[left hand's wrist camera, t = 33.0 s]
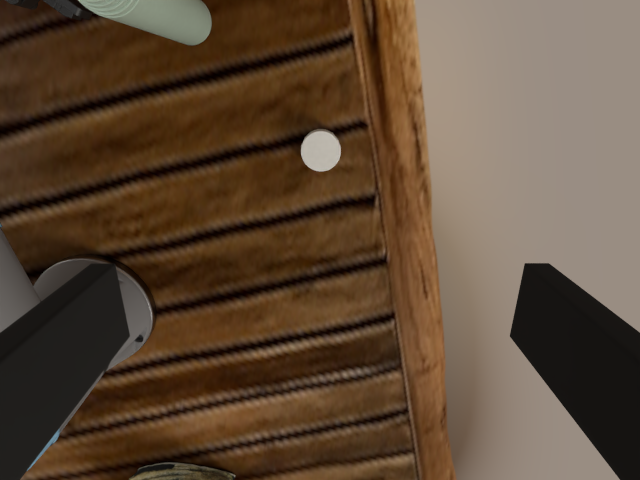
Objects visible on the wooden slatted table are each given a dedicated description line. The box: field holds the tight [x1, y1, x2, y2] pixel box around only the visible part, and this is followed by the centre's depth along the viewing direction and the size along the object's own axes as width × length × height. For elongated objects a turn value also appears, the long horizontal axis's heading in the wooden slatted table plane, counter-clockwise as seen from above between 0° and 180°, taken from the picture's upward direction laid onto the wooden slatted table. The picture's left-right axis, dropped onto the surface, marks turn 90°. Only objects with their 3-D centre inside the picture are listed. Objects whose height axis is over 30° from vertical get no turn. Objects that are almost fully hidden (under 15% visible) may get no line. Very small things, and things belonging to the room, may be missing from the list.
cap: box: [301, 129, 341, 171], centre depth 44 cm, size 4×4×2 cm
